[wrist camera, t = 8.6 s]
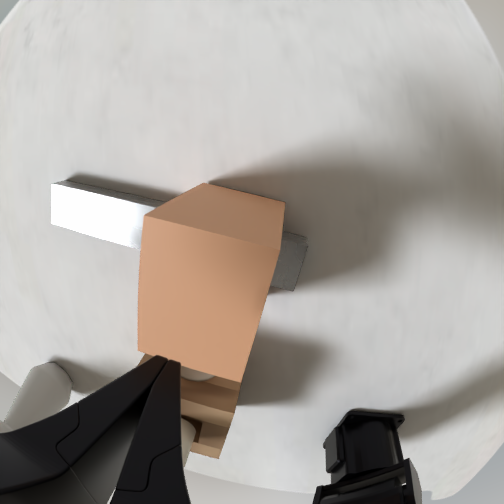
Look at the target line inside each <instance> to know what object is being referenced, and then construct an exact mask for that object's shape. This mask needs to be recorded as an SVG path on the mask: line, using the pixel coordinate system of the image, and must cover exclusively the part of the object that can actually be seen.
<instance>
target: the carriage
mask: <svg viewBox="0 0 504 504" xmlns="http://www.w3.org/2000/svg"><path fill="white" fill-rule="evenodd" d="M284 211H285V202H281V201H277V200H273V199H269V198H266V197H262V196H258V195H253V194H249V193H245V192H241V191H237V190H233V189H228V188H224V187H220V186H215V185H211V184H207V183H202V184H200V185H198V186H196V187H194V188H192V189H191V190H189V191H187V192H185V193H183V194H181V195H179V196H177V197H175V198H174V199H172V200H170V201H168V202H166V203H165V204H163V205H161V206H159V207H157V208H156V209H154V210H152V211H150V212H148V213H147V214H145V215H144V217H143V227H142V238H141V251H140V267H139V288H138V351H141V352H143V353H146V354H149V355H152V356H155V355H160V356H163V357H166V358H168V359H172V360H175V361H178V362H180V363H181V366H184V367H188V368H191V369H194V370H197V371H201V372H204V373H208V374H211V375H215V376H218V377H222V378H226V379H229V380H233V381H237V382H241V380H242V377H243V374H244V371H245V367H246V364H247V361H248V358H249V354H250V351H251V348H252V345H253V341H254V338H255V335H256V331H257V328H258V325H259V321H260V318H261V315H262V311H263V308H264V305H265V301H266V298H267V294H268V291H269V287H270V284H271V281H272V277H273V274H274V270H275V267H276V263H277V260H278V256H279V253H280V247H281V238H282V229H283V220H284Z"/></svg>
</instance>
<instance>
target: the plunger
mask: <svg viewBox="0 0 504 504" xmlns="http://www.w3.org/2000/svg"><path fill="white" fill-rule="evenodd" d="M195 434H196V430H195V428H194V426H193V425H192V424H191V423H189V422H188V421H186V420H184V419H182V418H181V437H182V459H183V467H184V466H185V464H186V461H187V458H188V455H189V452H190V449H191V446H192V443H193V440H194V437H195Z"/></svg>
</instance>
